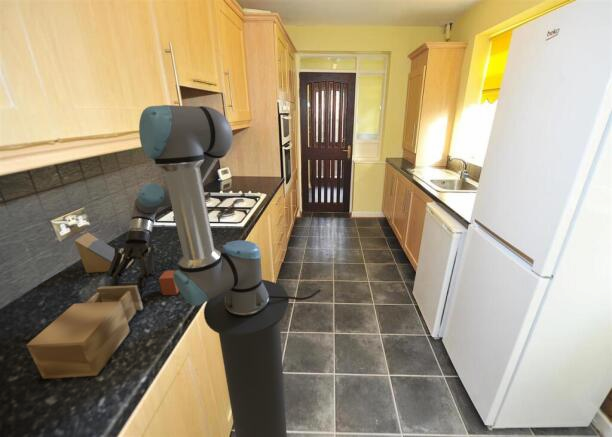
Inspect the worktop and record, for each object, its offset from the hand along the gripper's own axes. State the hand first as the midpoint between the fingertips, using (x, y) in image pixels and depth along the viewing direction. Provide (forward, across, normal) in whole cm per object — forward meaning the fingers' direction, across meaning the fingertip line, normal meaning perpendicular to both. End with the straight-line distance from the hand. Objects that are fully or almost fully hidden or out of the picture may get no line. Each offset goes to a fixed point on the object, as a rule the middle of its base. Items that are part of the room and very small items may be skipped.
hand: (125, 297), depth 88 cm
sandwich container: (-17, +23, -23) cm, 37 cm away
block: (-3, -11, -9) cm, 15 cm away
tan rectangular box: (+16, 0, +10) cm, 19 cm away
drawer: (+6, 0, +2) cm, 6 cm away
